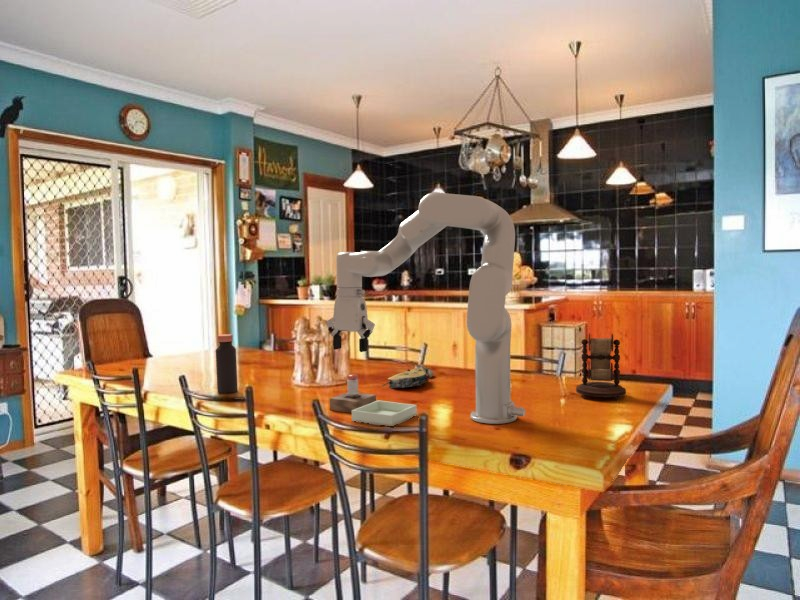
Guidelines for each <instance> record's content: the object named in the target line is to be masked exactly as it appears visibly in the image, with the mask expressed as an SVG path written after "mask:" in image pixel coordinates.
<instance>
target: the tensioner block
mask: <svg viewBox="0 0 800 600" xmlns="http://www.w3.org/2000/svg"><path fill="white" fill-rule="evenodd" d="M375 401H377V394H371V393H366V392H365V393H362V392H358V398H356V399H352V398H348V391H347V392H345V393H342V394H339V395H336V396H333V397H330V398H329V411H333V412H334V411H336V412H343V413H350V414H352V412H351V410H354V409H357V408H359V407H362V406H364V405H367V404H370V403H372V402H375Z"/></svg>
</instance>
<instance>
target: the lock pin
mask: <svg viewBox="0 0 800 600" xmlns="http://www.w3.org/2000/svg"><path fill="white" fill-rule="evenodd" d="M346 382H347V383H346V384H347V386H346V388H347V392H348V398H352V399H356V398H358V393H359V375H358V374H354V373H352V374H347V375H346Z"/></svg>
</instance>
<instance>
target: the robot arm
mask: <svg viewBox="0 0 800 600" xmlns="http://www.w3.org/2000/svg"><path fill="white" fill-rule="evenodd" d="M447 227H450V228H452V227H453V228H462V229H469V230H473V231H474V230H475V231H480V232H482V233H483V244H482V251H481V265H480V266H479V267H478V268H476V270H475V271H474V272H473V274H472V275H471V278H470V281H469V286H468V287H469V289H468V299H467V311H466V328H467V331H468V334H469V335H470V336H471V338H473V339H474V340H475V348H474V352H475V354H474V362H475V363H474V364H475V365H474V368H475V369H474V373H475V374H474V375H475V377H474V378H475V379H474V380H475V381H474V382H475V410H472V411H471V412H470V419H471V420H472V421H474V422H477V423H481V424H490V425H492V424H493V425H497V424H498V425H500V424H502V425H503V424H508V423H512V422H515V421H516V420H517V419H518V418H517V417H525V416H526V409H525V408H524V407H520V406H516V405H515V401H512V400H511V396H512V395H511V340H512V339H511V337H512V318H511V315H510V313H509V311H508V310H507V308H506V306H505V305H506V297H507V295H508V294H509V293H510V292H511V289H512V287H513V275H514V273H513V272H514V262H515V261H514V259H515V243H516V229H515V224H514V221H513V219H512V217H511V216H510V215H509V213H508V211H506V210H505V209H504V208H503V207H501V206H499V205H498V204H497V203H495V202H493V201H491V200H488V199H486V198H484V197H480V196H477V195H467V194H459V193H458V194H455V193H444V192H440V191H439V192H437V191H435V192H429V193H427V194H426V195H424V196H423V197H422V198H421V199H420V202H419V204H418V210H416V211H415V212H414V213H413V214H411V215H410V216H407V218H406V219H404V220H403V221H402V222H401V223H400V224H399V227H398V230H397V231H398V232H397V234H396V236H395V237H394V238H393V239H392V240H391V241H390V242H389V243H388V244H386V245H385V246H384V247H382V248H381V249H380V250H366V251H365V250H364V251H360V252H358V251H357V252H356V251H342V252H338V253H337V255H336V258H335V259H336V262H335V263H336V298H335V300H334V304H333V316H332V317H331V318H330V319H328V320H326V322H325V323H326V326H327V328H328V331H329V332H330V335H331V337H332V345H333V350H339V349H342V335H340V334H341V333H343V332H351V333H352V332H353V333H356V332H357V334H358V335H359V337H360V338H359V341H358V344H359V345H358V348H359V350H358V351H359V352H360V353H364V352H367V351H368V348H369V347H368V346H369V345H368V343H369V342H368V338H370V336H371V334H372V333H373V331H374V329H375V326H376V325H375V323H374V322H372V321H371V320H369V319H368V310H367V309H368V307H367V303H366V299H365V298H364V297H363V295H365V294H366V291H365V289H363V277H365V278H366V277H367V278H368V277H369V278H373V277H384V276H386V275H388V274H389V273H391V272H393V271H394V270H395V269H396V268H398V267H400V266H401V265H402V264H403V263H405V262H406V261H407V260H409V258H410V257H411V256H413V254H414V253H416V252H417V250H418V248H420V247H421V246H422V245H424V244H425V243H426V242H427V241H430V239H431V238H433V237H435V235H437V234H439V232H441V231H442V230H443V229H445V228H447Z"/></svg>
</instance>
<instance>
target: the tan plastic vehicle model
mask: <svg viewBox="0 0 800 600" xmlns="http://www.w3.org/2000/svg"><path fill="white" fill-rule="evenodd" d="M433 376H434V371H433V370H431V368H429V367H426V366H424V365H420V364H418V365H417V364H416V365H415V366H414V368H412V369H409V368H407V370H406V371H403V372H400V373H397V374H394V375H392V376H390V377H388V378H387V380H388V382H386V383H385V384H383V385H381V388H382V387H383V388H384V386H386V385H388V384H389V386H388V387H389V388H390V389H400V388H403V389H404V388H409V387H415V386H420V387H422V385H423V384H424V383H427V382H429V378H432V377H433Z"/></svg>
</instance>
